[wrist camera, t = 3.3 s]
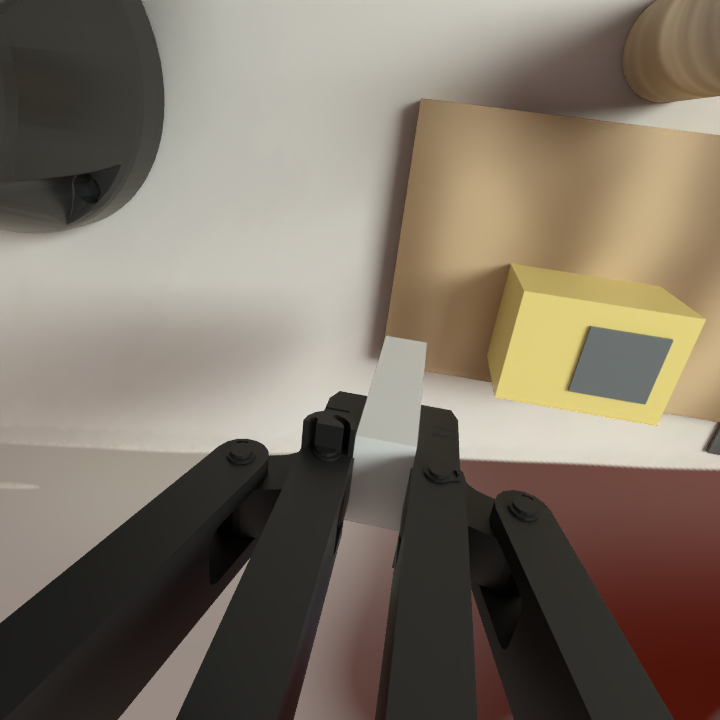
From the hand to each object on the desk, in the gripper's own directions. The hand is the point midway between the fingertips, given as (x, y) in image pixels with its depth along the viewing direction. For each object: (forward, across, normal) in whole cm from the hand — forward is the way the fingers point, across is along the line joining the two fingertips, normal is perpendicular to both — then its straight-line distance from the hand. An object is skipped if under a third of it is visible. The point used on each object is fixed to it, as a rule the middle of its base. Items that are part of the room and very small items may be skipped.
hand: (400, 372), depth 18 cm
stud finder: (+8, +8, 0) cm, 11 cm away
